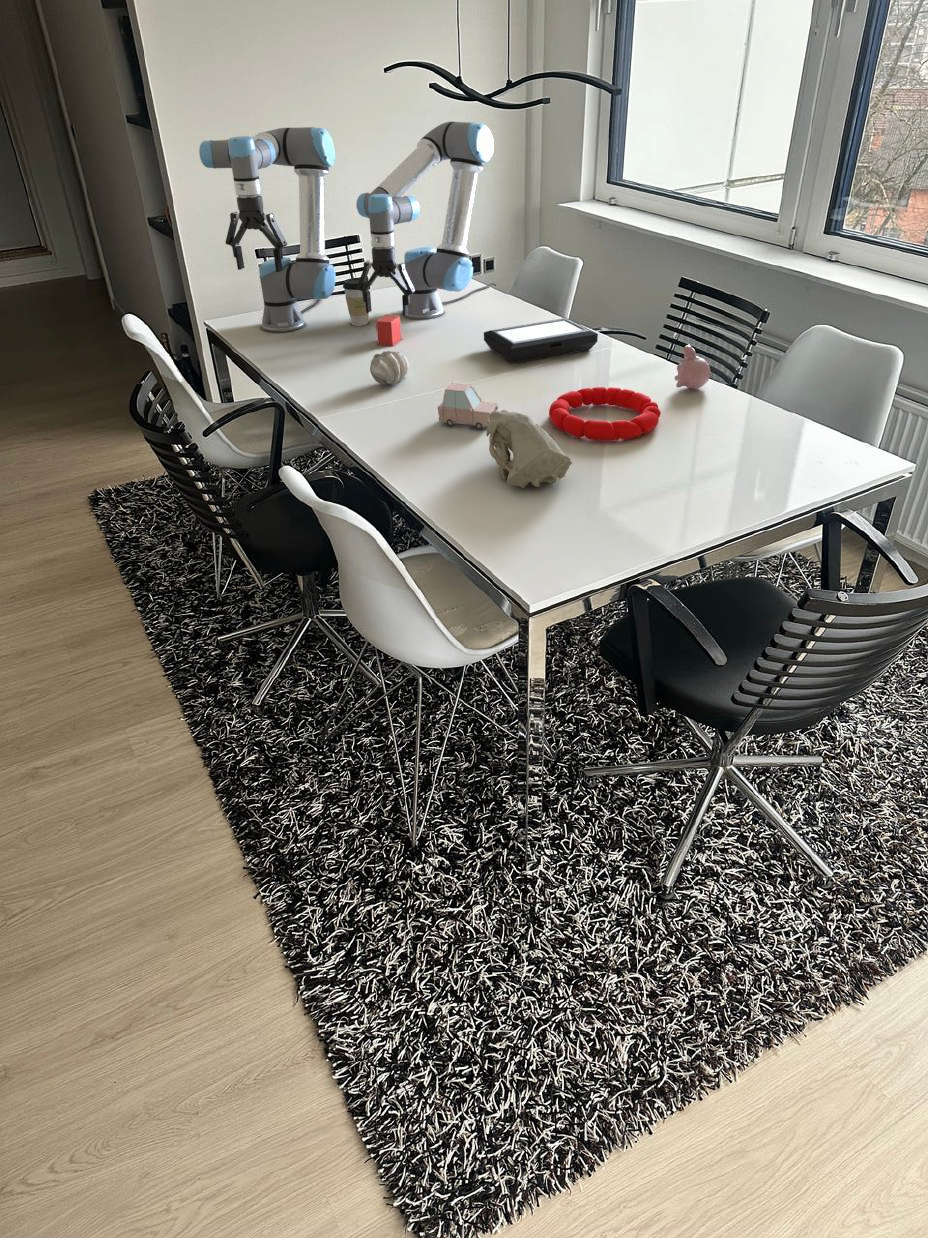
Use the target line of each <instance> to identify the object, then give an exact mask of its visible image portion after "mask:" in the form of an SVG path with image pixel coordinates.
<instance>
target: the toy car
mask: <svg viewBox="0 0 928 1238" xmlns="http://www.w3.org/2000/svg"><path fill="white" fill-rule="evenodd" d="M498 409H499V404H498V403H497V402H490V401H489V402H487V401H483V397H481V396H480V395H479V394H478V393H477V391H476V390H475V389H474V386H472V384H469V383H459V382H451V383H450V384H449V385H448V386H447V387H446V388H445V389H444V394H443V399H442V403H440V404H439V405H438V406H437V413H438V421H439V422H443V423H446V425H447V426H448V427H452V426H454V425H455V424H461V425H469V426H473V427H475V429H476V430H479V431H480V430H481V429H483V428H485V427H486V428H487V423H488V422H490V414H491V413H492V412H496V411H499V410H498Z"/></svg>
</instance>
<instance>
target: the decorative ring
mask: <svg viewBox="0 0 928 1238" xmlns="http://www.w3.org/2000/svg"><path fill="white" fill-rule="evenodd" d="M583 405H584V406H586V407H587V406H591V405H593V406H604V405H608V406H614V407H619V408H624V409H628V410H632V411H635V412H636V413H638V414H639V415H637V416H635V417H632V418H631V419H630V420H625V419H624V420H623V419H622V420H614V421H611V422H609V421H607V420H606V421H605V420H593V419H587V420H586V421H585V419H584V418H582V417H579V416H577V415H573V414H571V413H570V410H571V409H579V408H581V407H582V406H583ZM548 416H549V419H550V422H551V423H552V425H553V426H554V427H555V428H556V429H558V430H559V431H561V432H563V433H567V434H568V435H569V436H573V437H576V438H580V439H582V438H583V437H585V438H586V439H587V440H591V441H601V442H602V441H603V442H608V441H609V442H610V441H611V442H612V441H615V442H616V441H618V440H630V439H634V438H638V437H641V436H642V434H647V433H650V432H651V431H653V430H654V429H655V428H656V427H657V426H658V424H659V422H660V421H659V420H660V417H661V410H660V408H659V405H658V403H657V402H656V401H652V399H651V397H649V396H648V395H646V394H644V393H642V392H635V391H634V390H632V389H628V388H624V389H622V388H620V387H613V386H612V387H611V386H610V387H608V388H606V387H604V386H594V387H585V388H584V387H583V388H580V389H578V390H571V391H568V392H565V393H563V394H561V395H560V396H558V397H557V398H556V400H554V401H552V403H551V404H550V407H549V409H548Z"/></svg>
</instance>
